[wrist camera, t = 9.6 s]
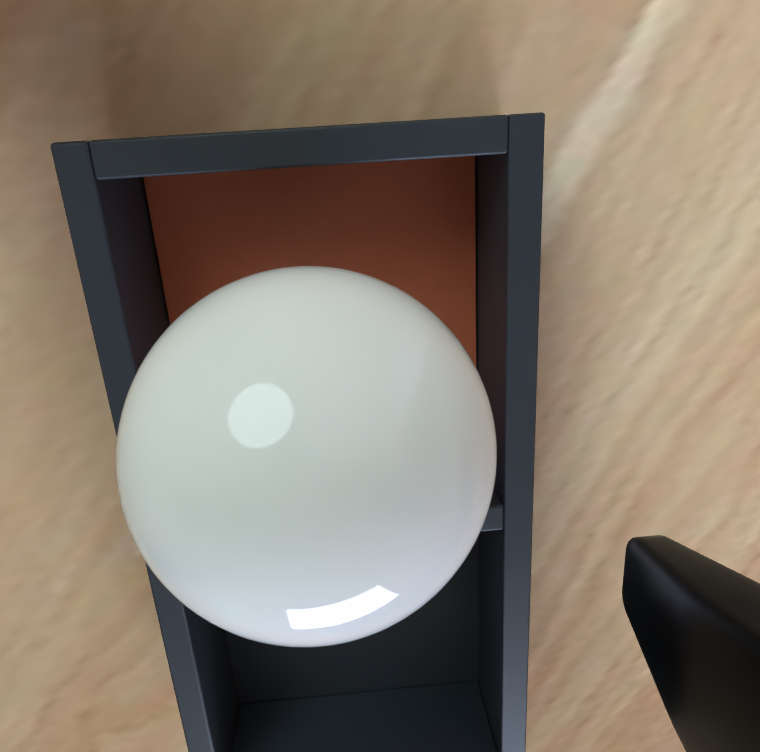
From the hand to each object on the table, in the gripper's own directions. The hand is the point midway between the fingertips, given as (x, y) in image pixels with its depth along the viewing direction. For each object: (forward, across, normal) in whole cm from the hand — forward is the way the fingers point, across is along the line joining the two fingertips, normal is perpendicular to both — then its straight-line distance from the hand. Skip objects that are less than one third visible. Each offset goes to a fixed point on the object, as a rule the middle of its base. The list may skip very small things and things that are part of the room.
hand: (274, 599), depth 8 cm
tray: (+12, 0, +5) cm, 13 cm away
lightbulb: (+12, 0, 0) cm, 12 cm away
